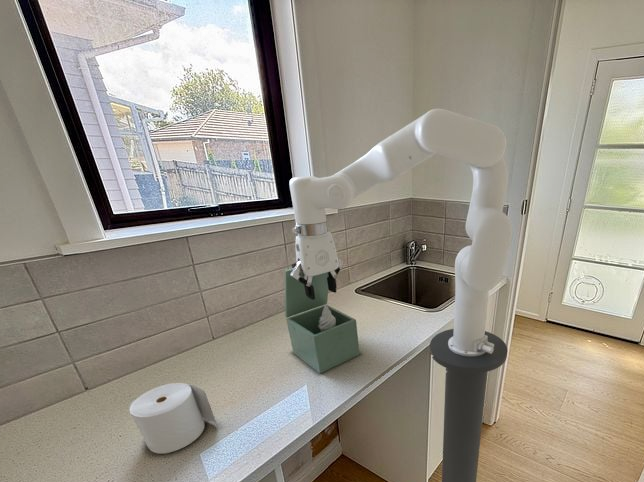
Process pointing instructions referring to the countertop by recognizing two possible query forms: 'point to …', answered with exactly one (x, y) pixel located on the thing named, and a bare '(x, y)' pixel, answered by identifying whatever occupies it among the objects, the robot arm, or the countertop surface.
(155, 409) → the toilet tissue
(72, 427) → the countertop surface
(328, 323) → the ice cream cone
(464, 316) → the robot arm
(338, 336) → the bin
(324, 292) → the bin lid
